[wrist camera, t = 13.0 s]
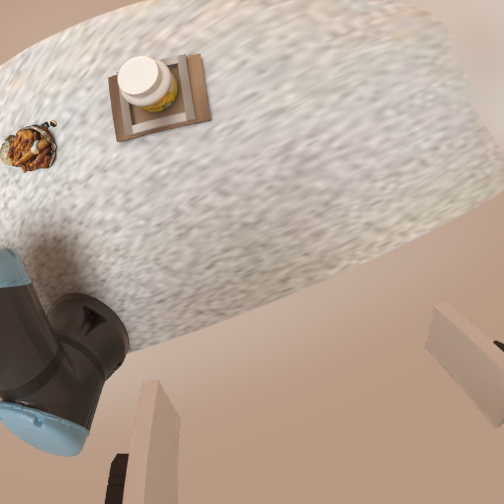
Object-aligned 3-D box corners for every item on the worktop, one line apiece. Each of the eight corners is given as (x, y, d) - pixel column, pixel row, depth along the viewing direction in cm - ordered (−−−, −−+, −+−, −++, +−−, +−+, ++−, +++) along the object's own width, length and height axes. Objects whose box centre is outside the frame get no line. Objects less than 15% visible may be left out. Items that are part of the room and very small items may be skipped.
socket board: (120, 142, 32) (112, 141, 29) (111, 79, 29) (103, 74, 26) (210, 120, 33) (210, 117, 30) (200, 57, 30) (199, 49, 27)
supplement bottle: (179, 71, 29) (168, 45, 20) (178, 111, 31) (166, 98, 22) (137, 76, 28) (112, 54, 19) (136, 115, 30) (109, 105, 21)
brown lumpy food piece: (3, 136, 28) (-10, 136, 25) (58, 118, 30) (46, 116, 27) (5, 178, 31) (-8, 181, 28) (59, 165, 32) (47, 167, 29)
